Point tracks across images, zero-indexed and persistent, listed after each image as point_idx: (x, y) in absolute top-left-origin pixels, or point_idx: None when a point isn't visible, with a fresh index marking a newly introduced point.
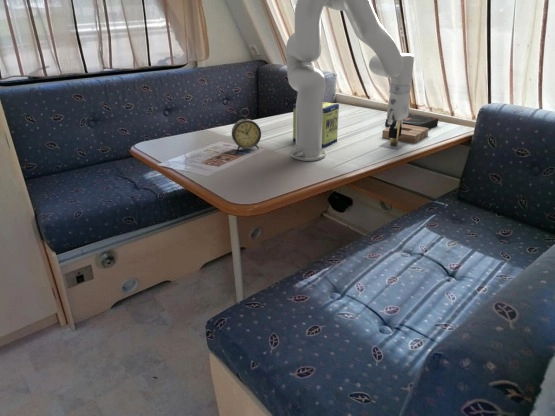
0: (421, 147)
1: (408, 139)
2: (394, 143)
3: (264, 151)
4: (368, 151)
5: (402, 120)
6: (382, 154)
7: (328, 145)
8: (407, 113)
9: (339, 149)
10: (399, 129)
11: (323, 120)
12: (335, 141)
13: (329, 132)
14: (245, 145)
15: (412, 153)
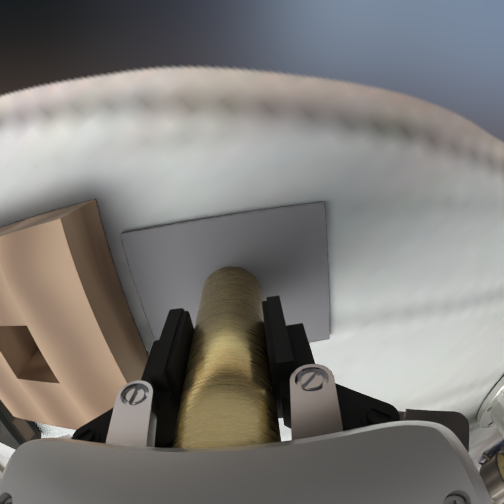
0: (115, 116)
1: (97, 259)
2: (256, 285)
3: (494, 439)
4: (430, 317)
5: (120, 433)
6: (443, 233)
7: None
8: (37, 487)
9: (445, 395)
10: (179, 360)
11: None
12: None
13: None
14: (500, 456)
15: (305, 80)
